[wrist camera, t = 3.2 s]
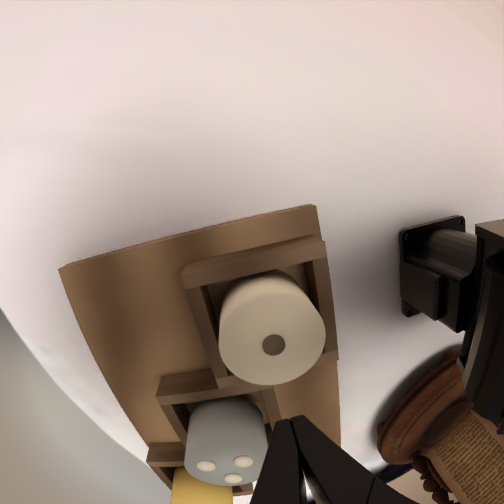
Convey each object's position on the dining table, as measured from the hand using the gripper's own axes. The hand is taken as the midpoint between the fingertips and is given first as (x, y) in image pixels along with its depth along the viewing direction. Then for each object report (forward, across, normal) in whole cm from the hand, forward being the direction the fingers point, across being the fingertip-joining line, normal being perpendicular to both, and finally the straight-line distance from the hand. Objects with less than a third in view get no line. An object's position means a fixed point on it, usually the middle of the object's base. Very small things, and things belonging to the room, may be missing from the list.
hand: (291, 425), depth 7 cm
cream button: (+9, 0, 0) cm, 9 cm away
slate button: (+8, +4, +7) cm, 11 cm away
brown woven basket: (+10, -15, +17) cm, 25 cm away
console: (+10, +4, +6) cm, 13 cm away
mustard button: (+8, +8, +14) cm, 18 cm away
